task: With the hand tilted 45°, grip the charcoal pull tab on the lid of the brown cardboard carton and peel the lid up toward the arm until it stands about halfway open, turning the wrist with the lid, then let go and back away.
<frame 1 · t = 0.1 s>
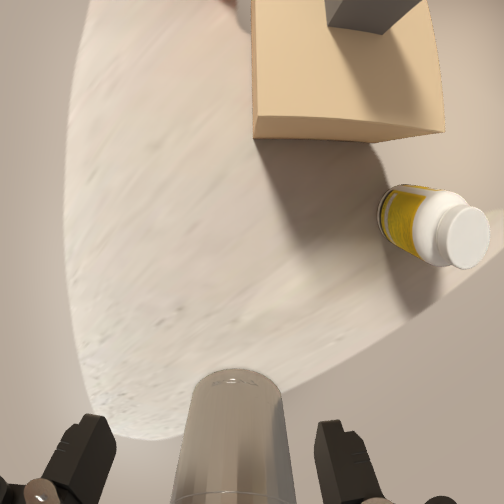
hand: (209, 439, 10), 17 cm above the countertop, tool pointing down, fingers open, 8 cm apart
supplement bottle: (401, 214, 26), on the countertop
carton: (313, 70, 22), on the countertop
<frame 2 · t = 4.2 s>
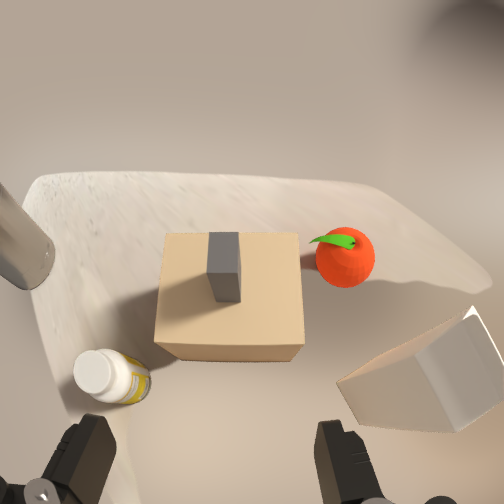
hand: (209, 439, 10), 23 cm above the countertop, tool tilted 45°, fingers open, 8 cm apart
clementine: (333, 269, 39), on the countertop
supplement bottle: (131, 381, 32), on the countertop
milk: (368, 390, 32), on the countertop
lid: (226, 272, 24), point 13 cm above the countertop, hinge at 0.0°
carton: (235, 319, 36), on the countertop
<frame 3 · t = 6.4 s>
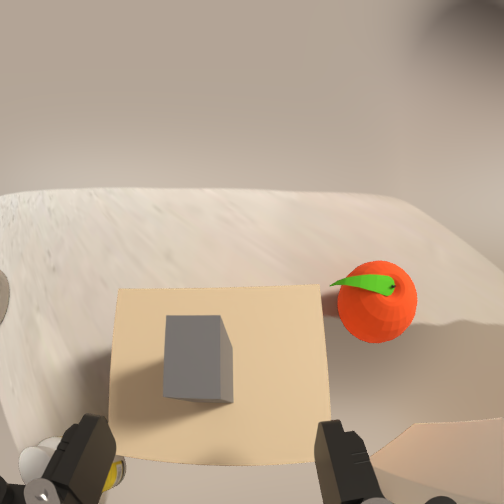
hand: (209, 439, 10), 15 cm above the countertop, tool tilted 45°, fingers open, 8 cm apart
clementine: (359, 314, 28), on the countertop
supplement bottle: (102, 461, 22), on the countertop
milk: (402, 465, 21), on the countertop
lid: (206, 368, 13), point 13 cm above the countertop, hinge at 0.0°
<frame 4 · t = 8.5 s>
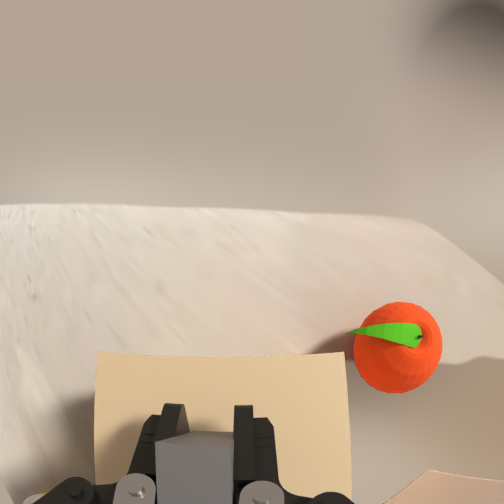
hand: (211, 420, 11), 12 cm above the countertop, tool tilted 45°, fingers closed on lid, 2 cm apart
clementine: (374, 356, 24), on the countertop
lid: (209, 473, 9), point 13 cm above the countertop, hinge at 0.0°, touching gripper
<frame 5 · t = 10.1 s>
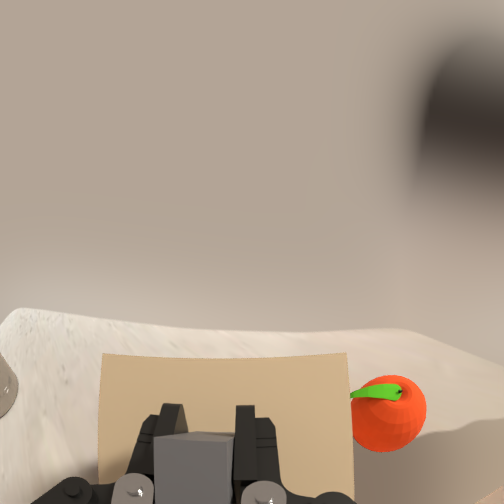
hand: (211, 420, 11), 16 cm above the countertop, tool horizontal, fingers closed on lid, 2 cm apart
clementine: (370, 432, 24), on the countertop
lid: (209, 472, 9), point 15 cm above the countertop, hinge at 29.8°, touching gripper
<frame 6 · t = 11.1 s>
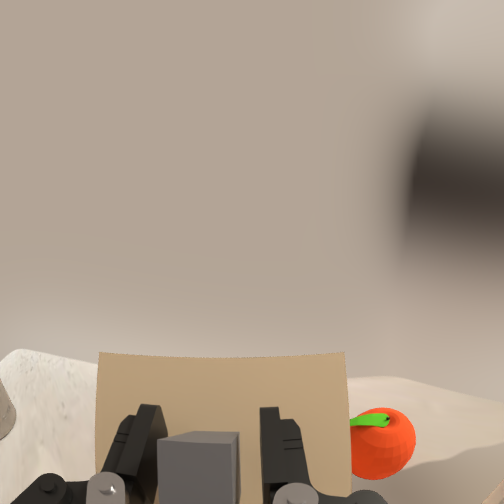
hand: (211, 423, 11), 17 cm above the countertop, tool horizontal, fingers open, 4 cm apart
clementine: (363, 466, 24), on the countertop
lid: (210, 472, 9), point 16 cm above the countertop, hinge at 44.3°
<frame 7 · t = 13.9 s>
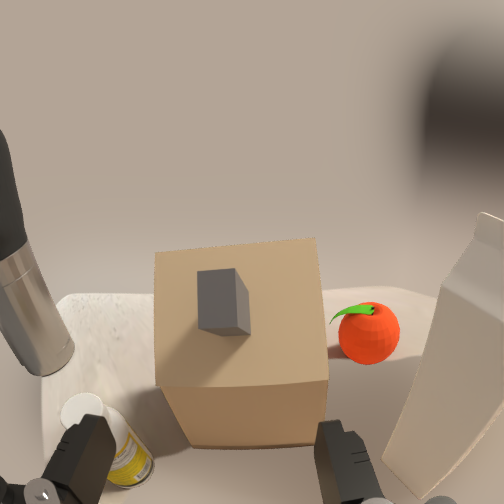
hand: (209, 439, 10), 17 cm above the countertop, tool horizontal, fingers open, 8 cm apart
clementine: (361, 356, 34), on the countertop
supplement bottle: (130, 467, 23), on the countertop
milk: (422, 461, 20), on the countertop
lid: (228, 308, 19), point 16 cm above the countertop, hinge at 44.3°
carton: (257, 408, 29), on the countertop
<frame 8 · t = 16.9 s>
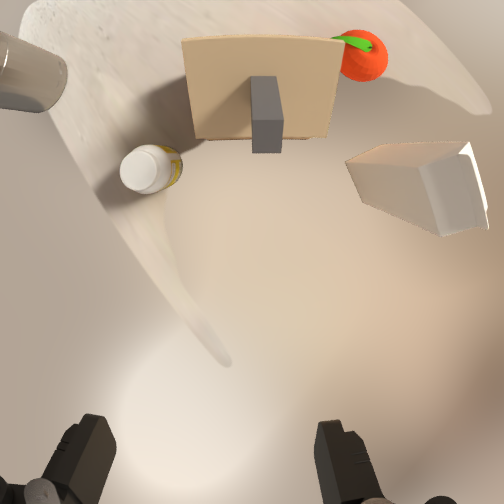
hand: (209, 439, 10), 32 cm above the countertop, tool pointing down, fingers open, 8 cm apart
clementine: (347, 61, 35), on the countertop
supplement bottle: (163, 167, 38), on the countertop
milk: (371, 173, 39), on the countertop
lid: (264, 109, 22), point 16 cm above the countertop, hinge at 44.3°
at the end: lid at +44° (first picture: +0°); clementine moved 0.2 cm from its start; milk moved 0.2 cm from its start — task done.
